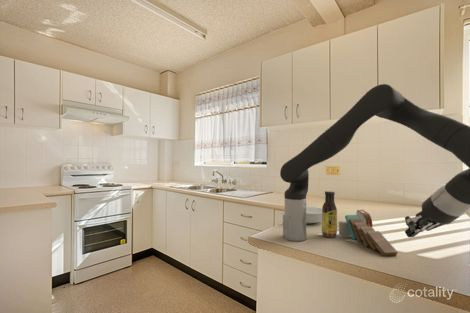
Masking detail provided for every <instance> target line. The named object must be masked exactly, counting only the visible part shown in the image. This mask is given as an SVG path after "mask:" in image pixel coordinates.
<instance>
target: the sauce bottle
mask: <svg viewBox="0 0 470 313" xmlns="http://www.w3.org/2000/svg"><path fill="white" fill-rule="evenodd" d="M335 194H336V193H335V191H333V190H325V191H324V196H325V197H324V203H323V204H322V221H321V234H322V236H323V237H326V238H336V237H337V235H338V234H337V233H338V208H337V206H336V203H335V202H336V201H335Z"/></svg>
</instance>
